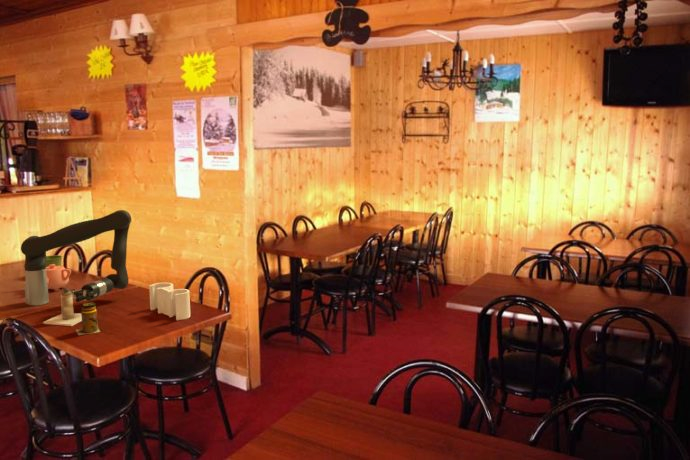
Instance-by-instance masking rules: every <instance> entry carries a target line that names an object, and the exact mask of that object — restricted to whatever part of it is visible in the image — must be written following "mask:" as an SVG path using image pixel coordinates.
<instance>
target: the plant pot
mask: <svg viewBox="0 0 690 460" xmlns="http://www.w3.org/2000/svg"><path fill="white" fill-rule="evenodd" d="M62 258H63V255H58V254H57V255H55V254H54V255H46V267H48V266H49V265H51V264H55V266H62V264H61V263H62V260H63V259H62Z"/></svg>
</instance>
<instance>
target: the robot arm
mask: <svg viewBox="0 0 690 460" xmlns="http://www.w3.org/2000/svg"><path fill="white" fill-rule="evenodd" d="M131 222H132V216H131V214H130V212H128V211H126V210H124V209H120V210H115V211H113V212H111V213H109V214H107V215H105V216H103V217H102V216H101V217H100V218H99V217H98V218H95V219H89V220H88V219H87V220H84V221H80V222H77V223H73V224H70V225H67V226H64V227H62V228H60V229H58V230H56V231H54V232H51V233H49V234H46V235H41V236H39V235H31V236H28V237H27V238H26V239H24V240H23V241H22V243H21V246H20V251H21V253H22V254H23V255H24V265H23V267H24V275H25V278H24V279H25V284H24V287H23V288H24V296H25V297H24V298H25V304H26V305H28V306H42V305H46V304H48V303H50V300H49V289H48V284H47V273H46V256H47V252H49V251H51V250H54V249H57V248H62V247H68V246H70V245H74V244H78V243H81V242H84V241H88V240H89V239H92V238H94V237H97V236H99V235H101V234H103V233H107V232H111V231H114V233H113V234H114V237H113V243H112V249H111V255H110V256H111V258H110V268H111V269H112V270H114V271H116V273H111V274H108V275H106V276H105V277H103V278H102V279H99V280H95V281H91V282H88V283H86V284H84V285H82V287H81V289H71V290H70V289H69V291H71V293H72V296H73V300H75V303H80V302H83V301H92V300H94V299H96V298H99V297H101V296H103V295H105V294H107V293H109V292H112V290H114V289H118V290H119V289H120V290H124V289H125V288H127V287H128V285H129V275H128V270H127V253H128V252H127V247H128V246H127V245H128V244H127V243H128V236H129V235H128V234H129V229H130V225H131ZM59 298H60V299H59V300H61V296H60V297H59Z"/></svg>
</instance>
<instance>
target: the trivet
mask: <svg viewBox="0 0 690 460" xmlns="http://www.w3.org/2000/svg"><path fill="white" fill-rule="evenodd" d="M80 322H81V323H82V315H81V312H79V313H78V312H77V313H76V312H74V318H73V319H69V320H63V319H62V313H60V314H58V315H55V316H53V317H50V319H47V320H45V321H43V323H42V324H43V325H54V326H55V325H56V326H67V327H68V326H69V327H73V326H75V325H77V324H79V323H80Z"/></svg>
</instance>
